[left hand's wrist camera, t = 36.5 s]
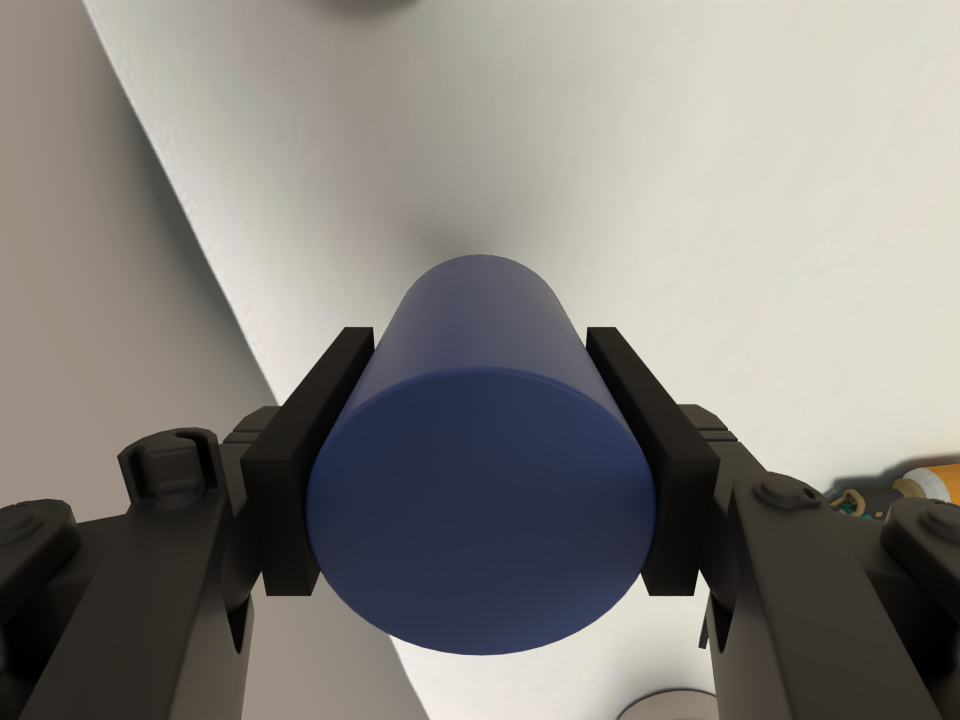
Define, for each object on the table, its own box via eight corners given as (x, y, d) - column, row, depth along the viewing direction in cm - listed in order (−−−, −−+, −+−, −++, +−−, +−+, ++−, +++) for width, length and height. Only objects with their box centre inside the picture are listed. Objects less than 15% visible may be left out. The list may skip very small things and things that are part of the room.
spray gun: (1003, 562, 45) (830, 616, 48) (985, 421, 39) (787, 494, 42) (1051, 604, 42) (860, 660, 45) (1040, 454, 35) (818, 532, 38)
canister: (357, 342, 17) (231, 532, 8) (479, 214, 16) (478, 284, 7) (481, 448, 19) (483, 702, 10) (603, 340, 17) (731, 529, 8)
